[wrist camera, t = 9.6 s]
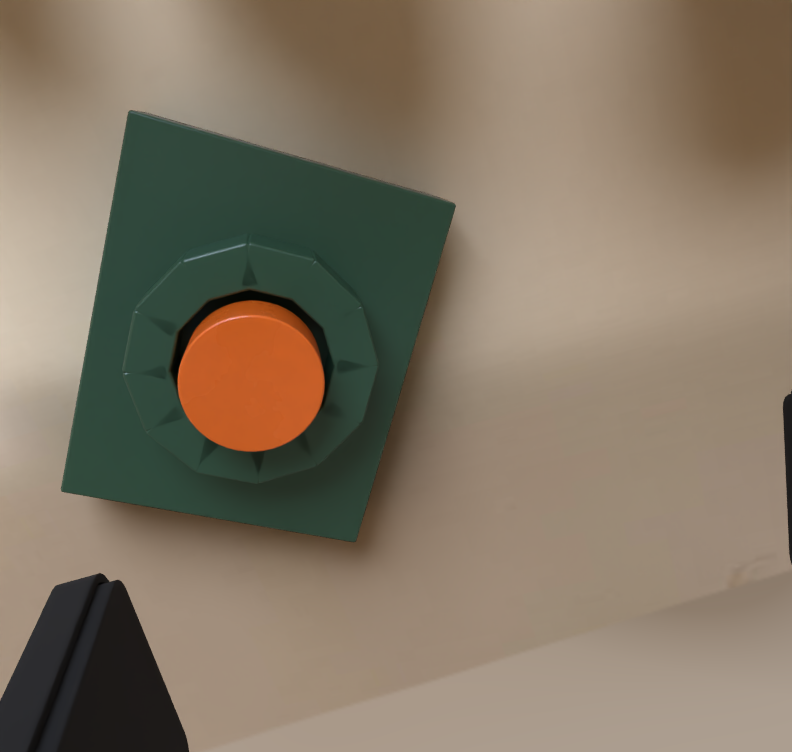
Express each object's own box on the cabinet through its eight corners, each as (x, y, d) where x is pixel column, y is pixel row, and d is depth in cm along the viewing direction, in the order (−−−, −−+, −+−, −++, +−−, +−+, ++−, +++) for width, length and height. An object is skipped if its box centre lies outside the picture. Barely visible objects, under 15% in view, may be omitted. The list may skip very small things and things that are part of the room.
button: (303, 438, 21) (305, 464, 20) (172, 412, 20) (164, 437, 19) (335, 317, 20) (340, 334, 19) (200, 284, 19) (193, 299, 18)
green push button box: (349, 510, 26) (362, 574, 22) (78, 461, 24) (42, 522, 20) (440, 197, 23) (473, 210, 20) (141, 111, 21) (114, 107, 18)
